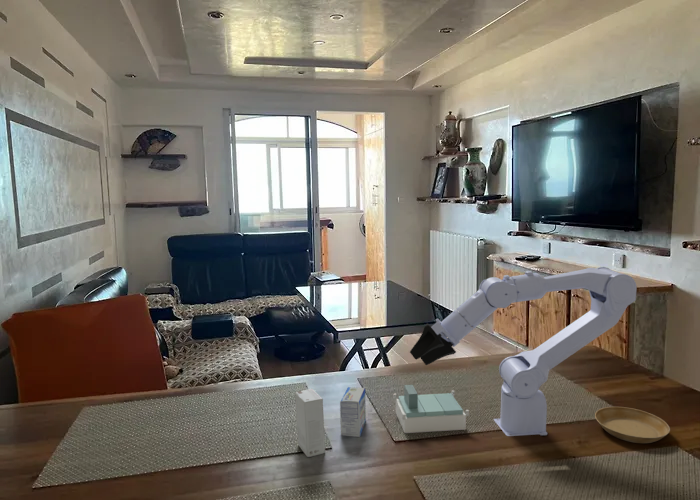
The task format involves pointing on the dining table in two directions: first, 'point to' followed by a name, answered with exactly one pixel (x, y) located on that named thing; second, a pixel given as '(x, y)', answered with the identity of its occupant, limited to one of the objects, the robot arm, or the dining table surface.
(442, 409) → the three-panel mint board
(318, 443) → the skincare box
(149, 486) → the dining table surface
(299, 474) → the dining table surface
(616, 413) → the plant saucer
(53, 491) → the dining table surface
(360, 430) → the medicine box
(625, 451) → the dining table surface
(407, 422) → the tub
